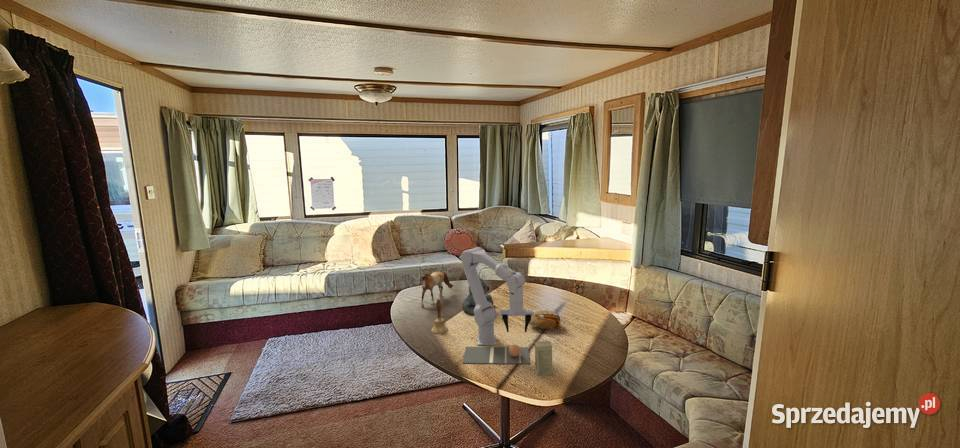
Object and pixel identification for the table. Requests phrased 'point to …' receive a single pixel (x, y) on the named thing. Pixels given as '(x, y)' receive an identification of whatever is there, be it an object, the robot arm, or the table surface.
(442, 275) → the horse figurine
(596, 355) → the table surface
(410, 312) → the table surface
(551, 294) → the table surface
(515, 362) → the lane mat
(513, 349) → the ball
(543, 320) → the nautilus
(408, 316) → the table surface
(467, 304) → the koala plush
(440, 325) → the hand bell
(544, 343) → the skincare box
